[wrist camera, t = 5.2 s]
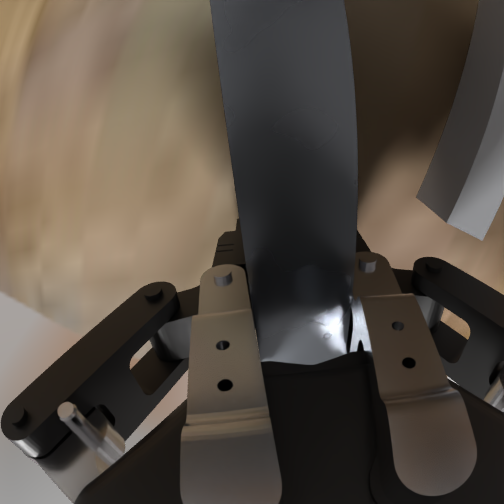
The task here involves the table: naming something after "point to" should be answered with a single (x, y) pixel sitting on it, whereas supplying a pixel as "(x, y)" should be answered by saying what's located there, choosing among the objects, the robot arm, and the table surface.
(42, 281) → the table surface
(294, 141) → the steel crook
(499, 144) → the plain stick
